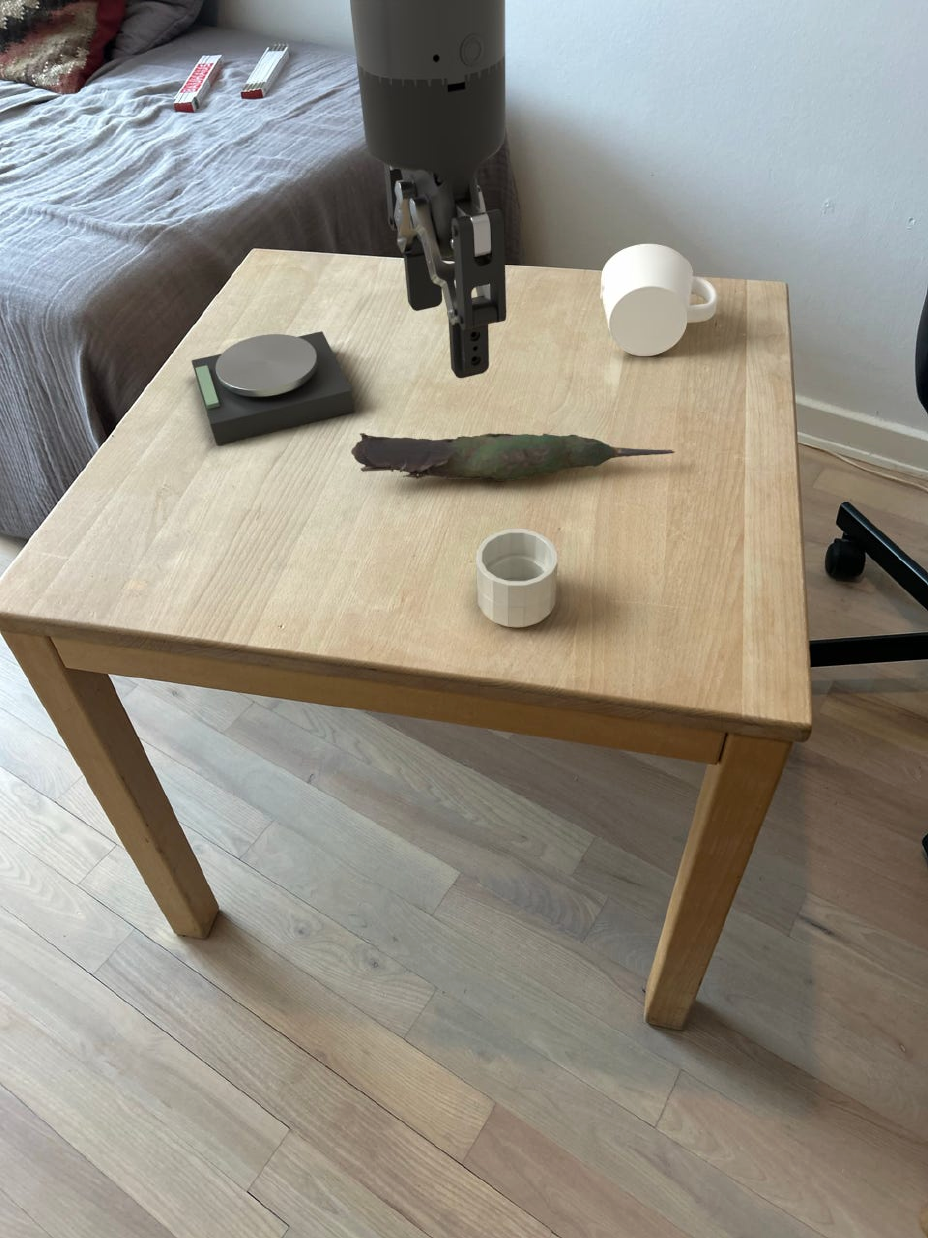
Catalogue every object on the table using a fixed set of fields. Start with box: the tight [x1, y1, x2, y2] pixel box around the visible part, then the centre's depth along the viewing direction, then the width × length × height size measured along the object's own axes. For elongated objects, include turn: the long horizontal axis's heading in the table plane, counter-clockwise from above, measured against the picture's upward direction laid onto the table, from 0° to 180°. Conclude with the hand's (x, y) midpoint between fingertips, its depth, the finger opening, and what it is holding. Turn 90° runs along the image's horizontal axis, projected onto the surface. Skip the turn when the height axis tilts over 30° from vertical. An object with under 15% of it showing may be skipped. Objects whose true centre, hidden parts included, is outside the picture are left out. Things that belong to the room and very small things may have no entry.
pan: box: [216, 333, 318, 397], centre depth 88 cm, size 10×10×1 cm
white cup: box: [475, 528, 559, 629], centre depth 68 cm, size 6×6×5 cm
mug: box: [599, 243, 719, 357], centre depth 92 cm, size 12×9×8 cm
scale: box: [191, 331, 356, 446], centre depth 89 cm, size 14×12×3 cm
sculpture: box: [350, 432, 676, 482], centre depth 79 cm, size 5×29×5 cm, turn 92°
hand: (447, 338), depth 56 cm, fingers open, 8 cm apart
